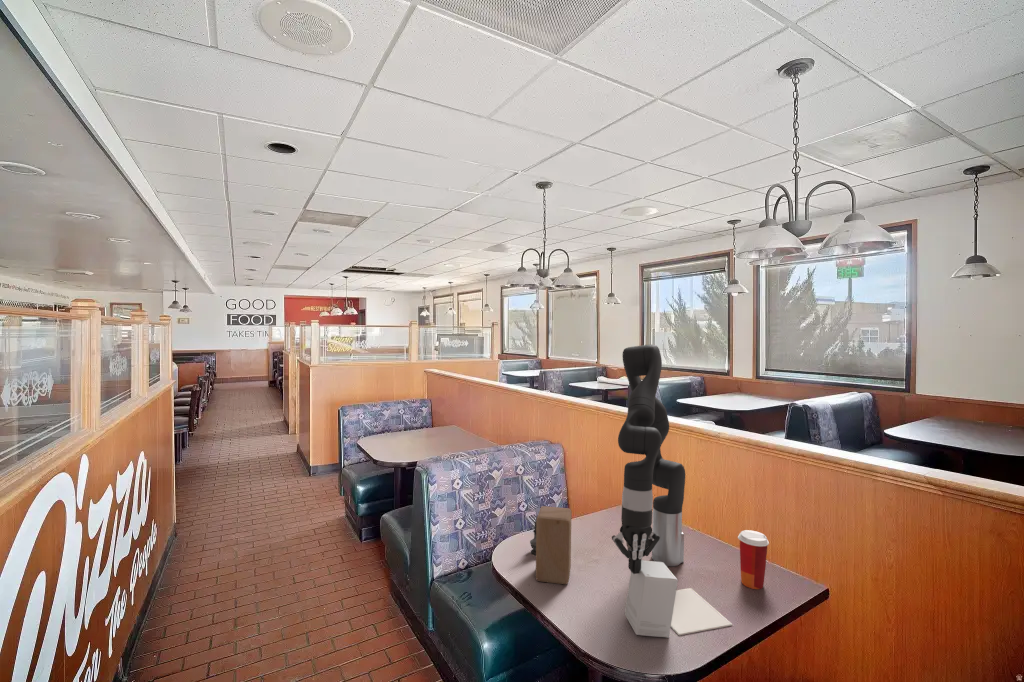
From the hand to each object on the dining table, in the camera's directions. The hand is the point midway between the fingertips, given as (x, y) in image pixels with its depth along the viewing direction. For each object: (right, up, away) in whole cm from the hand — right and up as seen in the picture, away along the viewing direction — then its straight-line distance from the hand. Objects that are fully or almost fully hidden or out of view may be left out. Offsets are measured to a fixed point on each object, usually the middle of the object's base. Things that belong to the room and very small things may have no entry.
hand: (634, 572), depth 117 cm
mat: (+16, -15, +9) cm, 24 cm away
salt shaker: (-22, -14, +40) cm, 48 cm away
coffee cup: (+42, -15, +22) cm, 50 cm away
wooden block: (-18, -14, +26) cm, 35 cm away
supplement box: (+3, -15, +2) cm, 15 cm away
